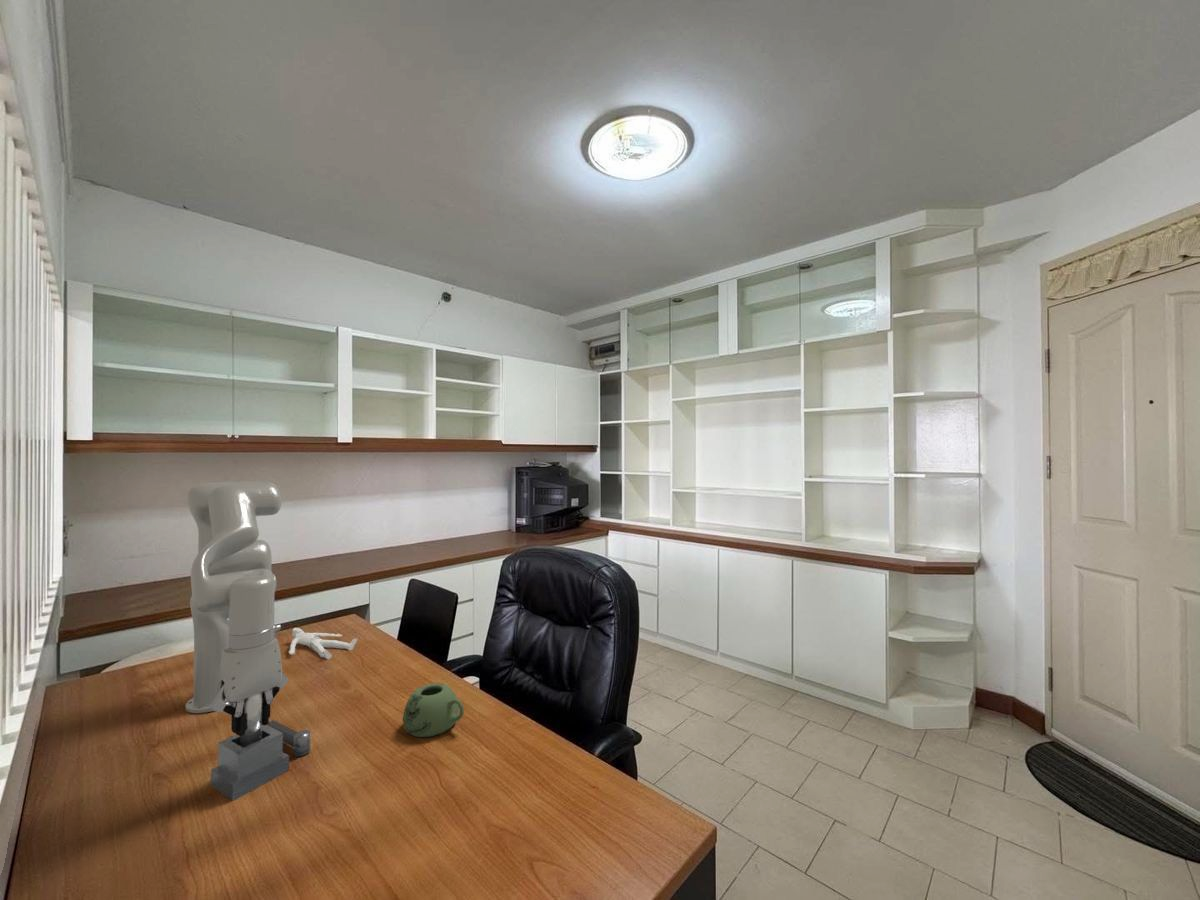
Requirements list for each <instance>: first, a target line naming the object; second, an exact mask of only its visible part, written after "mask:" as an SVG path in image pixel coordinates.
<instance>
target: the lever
mask: <svg viewBox="0 0 1200 900" xmlns="http://www.w3.org/2000/svg"><path fill="white" fill-rule="evenodd" d="M267 725H268V726H270V727H272V728H274V729H276V730H278V731H280V732H282V733H283V744H286V745H288V746H290V747H292V748H293V756H294V757H297V758H298V757H304V756H305V755H307V754H309V753H310V752H311V730H310V729H305V730H301V731H296V730H294V729H292V728H290V727H288V726H286V725H284V724H283V723H281V722H278V721H276V720H274V719H272V720H269V723H268V724H267Z"/></svg>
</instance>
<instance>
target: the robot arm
mask: <svg viewBox="0 0 1200 900" xmlns="http://www.w3.org/2000/svg"><path fill="white" fill-rule="evenodd" d="M186 495H187V496H186V498H187V506H188V509H189V512H190V513H191V516H192V518H193V519H194V521H195V523H196V526H197V530H198V534H197V535H198V541H197V542H198V543H197V544H198V546H197V548H198V550H197V555H196V556H195V559H194V560H193V562H192V565H191V569H190V587H191V596H190V599H189V606H190V612H191V613H190V614H191V618H192V624H193V626H192V627H193V697H191V698H190V699H189V700H188V701H187V702H186V703H185V711H186V712H187V713H191V714H204V713H209V712H219V713H226V714H229V715H231V716H230V718H231V721H230V722H231V724H230V725H231V726H230V727H231V728H230V730H231V732H232V733H233V734H234V735H239V736H243V735H244V734H245V715H244V714H242V710H243V705H244V699H246V698H249V697H251V696H253V695H255V694H258V693H262V692H263V708H262V725H267V724H268V723H269V721H270V720H269V718H270V717H271V704H272V703H274V699H275V697H276V696H277V695H278V693H279V692H280V690H281V689H282V688H284V686H285V685H287V683H288V682H289V678H288V677H287V675H286V674H285V673H284V672H283V664H282V662H283V661H282V654H281V648H280V644H279V641H278V638H276V633H277V632H280V631H281V629H282V627H281V624H275V593H276V591H277V585H278V584H277V583H278V582H277V577H276V575H275V573H273V572H272V565H273V564H272V562H273V561H272V551H271V547H270V545H269V543H268V542H267V541H265V540H263V539H258V538H259V535H260V532H259V526H258V523H257V517H265V516H274V515H277V513H279V511H280V510H281V507H282V495H281V492H280V489H279V488H278V487H277V485H276V484H275V483H272V482H269V481H264V480H263V481H262V480H259V481H255V480H254V481H253V480H251V481H221V482H220V481H217V482H214V481H213V482H204V483H199V484H196V485H193V486H191V487H190V488H189V489H188V491H187V494H186Z"/></svg>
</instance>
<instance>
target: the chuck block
mask: <svg viewBox="0 0 1200 900" xmlns="http://www.w3.org/2000/svg"><path fill="white" fill-rule="evenodd" d="M217 745H218V746H217V747H218V748H217V753H218V754H217V766H216V767H214V768H212V769H210V786H211V787H213V788H214V789H215V790H217V791H218V792H220V793H221V794H223V796H225V797H227V798H228V799H229V800H231V801H235V800H237V799H239V798H240V797H242V796H245V795H246V794H248V793H250V792H251V791H253V790H255V789H257V788H260V787H261V786H263V785H264V784H266V783H268V782H270V781H272V780H273V779H275V778H277V777H279V776H281V775H283V774H284V773H287V772H288V771H290V755H289V754H287V753H286V752H285V753H284V751H283V750H284V749H283V748H284V746H283V745H284V742H283V733H282V732H280V731H278V730H276V729H274V728H272V727H270V726H268V725H262V739H261V740H259V741H257V742H255V743H253V744H250V745H248V746H246V747H242V746H240V736H239V735H237V734H234V735H232V736H230V737H228V738H226V739H224V740H221V741H219V742H218V744H217Z"/></svg>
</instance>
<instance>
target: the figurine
mask: <svg viewBox="0 0 1200 900" xmlns="http://www.w3.org/2000/svg"><path fill="white" fill-rule="evenodd" d="M291 637H292V638H293V639H292V641H290V645H289V651H288V653H289V655H291V656H292V655H294V654H295V652H296V645H297V644H298V645H299V644H300V645H303V646H308V647H309V649H310V650H313V651H314V652H316V653H317V654H318V656H319V657H320V658H324V659H325V660H329V659H331V658H332V657H333V655H332V653H330V652H329V651H328V650H327V649H325V648H334V649H341V650H342V649H344V650H345V649H346V650H348V651H352V650H353V649H354V648H355V645H356V643H357V641H358V637H357V638H353V639H352V640H351V642H345V641H340V640H337V639H322V638H320V637H325V638H327V637H329V638H330V637H331V638H334V637H336V638H337V637H338V638H339V637H340V638H341V637H343V634H340V633H337V634H335V633H327V632H305V631H304V630H303V629H301V628H299V627H294V628H293V629H292V634H291Z"/></svg>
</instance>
